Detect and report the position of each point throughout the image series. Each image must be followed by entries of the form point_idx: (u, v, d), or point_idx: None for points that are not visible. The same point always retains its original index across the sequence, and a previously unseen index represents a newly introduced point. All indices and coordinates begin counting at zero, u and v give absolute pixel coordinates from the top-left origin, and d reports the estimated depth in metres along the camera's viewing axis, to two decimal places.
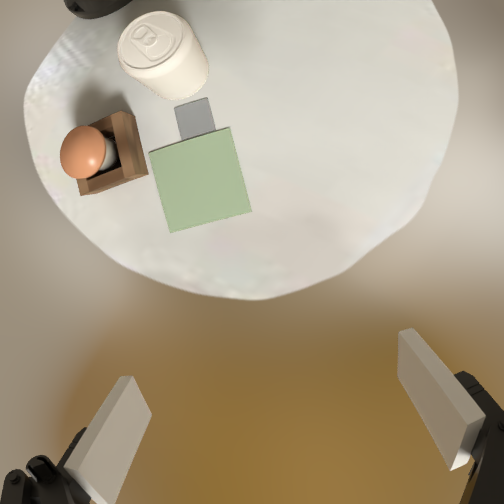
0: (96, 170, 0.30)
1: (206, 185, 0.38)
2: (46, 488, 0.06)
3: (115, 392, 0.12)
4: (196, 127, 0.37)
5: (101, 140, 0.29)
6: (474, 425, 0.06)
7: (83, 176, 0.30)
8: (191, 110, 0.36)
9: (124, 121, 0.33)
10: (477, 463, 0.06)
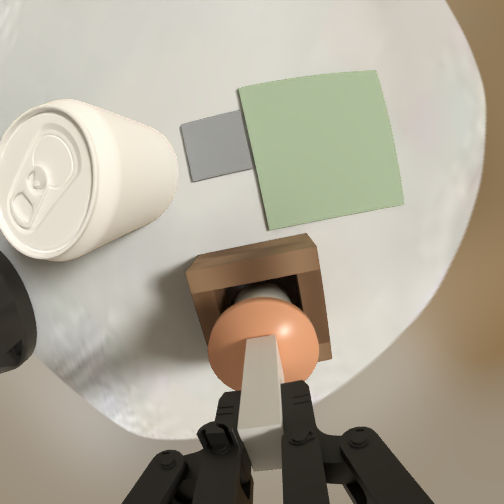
0: (308, 320, 0.16)
1: (334, 132, 0.21)
2: (212, 458, 0.08)
3: (252, 352, 0.14)
4: (232, 141, 0.22)
5: (247, 304, 0.16)
6: (269, 430, 0.09)
7: (316, 349, 0.16)
8: (200, 149, 0.22)
9: (209, 266, 0.20)
10: None
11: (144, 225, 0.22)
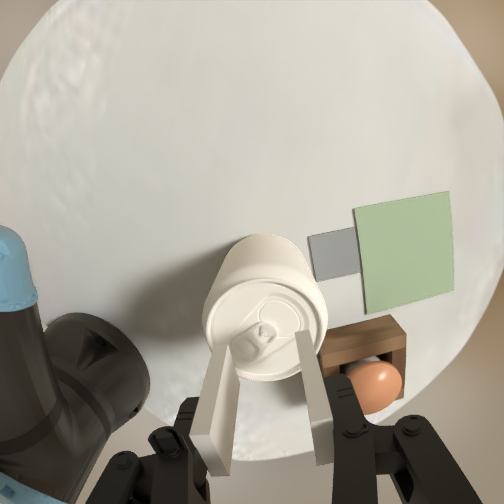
0: (397, 371, 0.25)
1: (417, 244, 0.28)
2: (165, 462, 0.08)
3: (216, 359, 0.14)
4: (348, 252, 0.29)
5: (369, 367, 0.25)
6: (321, 424, 0.09)
7: (400, 385, 0.25)
8: (323, 258, 0.29)
9: (337, 350, 0.27)
10: None
11: None
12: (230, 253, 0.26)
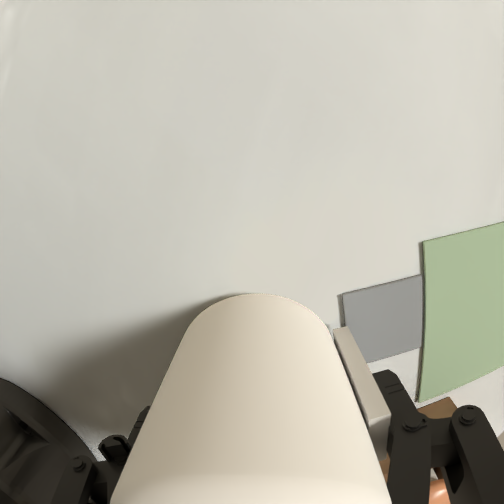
0: None
1: (502, 295, 0.15)
2: (117, 470, 0.08)
3: None
4: (406, 318, 0.15)
5: None
6: (379, 421, 0.08)
7: None
8: (366, 330, 0.15)
9: None
10: None
11: None
12: (185, 344, 0.12)
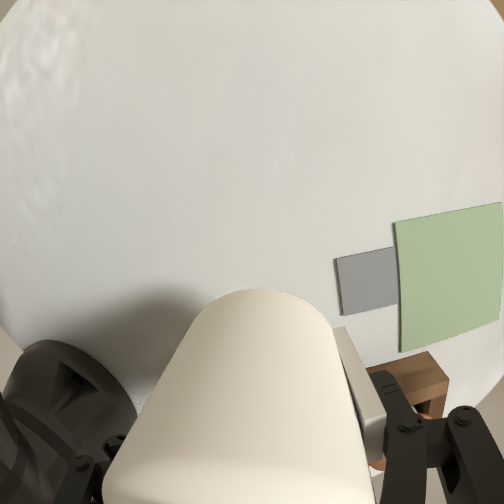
0: None
1: (465, 267, 0.21)
2: None
3: None
4: (385, 279, 0.22)
5: None
6: (374, 421, 0.08)
7: None
8: (354, 286, 0.22)
9: None
10: None
11: None
12: (189, 335, 0.12)
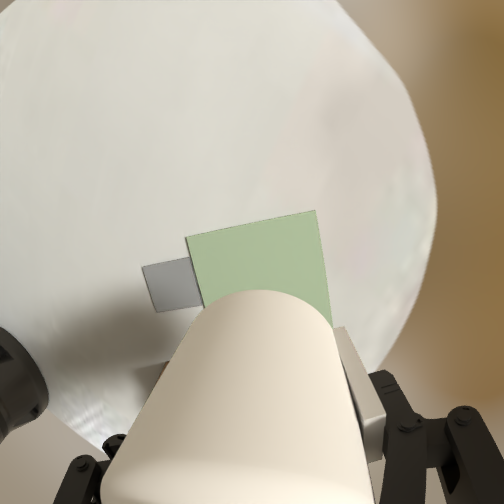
0: None
1: (270, 275, 0.27)
2: None
3: None
4: (184, 284, 0.27)
5: None
6: (374, 421, 0.08)
7: None
8: (159, 289, 0.27)
9: None
10: None
11: None
12: (189, 336, 0.12)
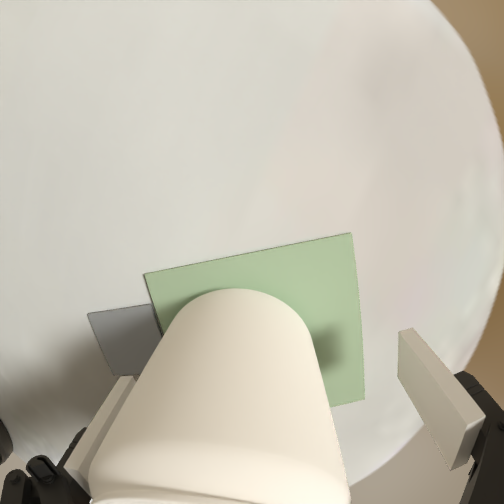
0: None
1: None
2: (46, 488, 0.06)
3: (115, 392, 0.12)
4: (147, 342, 0.17)
5: None
6: (474, 425, 0.06)
7: None
8: (113, 345, 0.17)
9: None
10: (477, 463, 0.06)
11: None
12: (173, 329, 0.13)
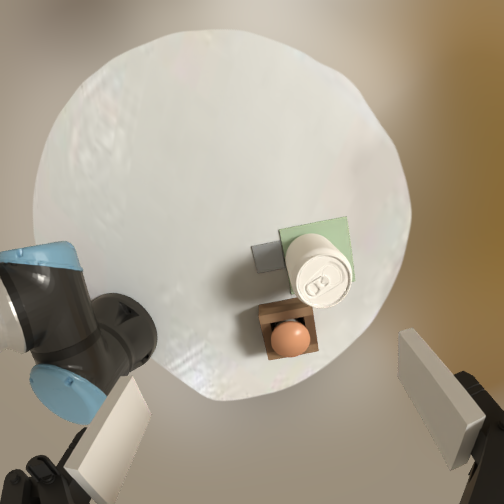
0: (306, 328, 0.46)
1: None
2: (46, 488, 0.06)
3: (115, 391, 0.12)
4: (276, 255, 0.50)
5: (285, 323, 0.46)
6: (474, 425, 0.06)
7: (309, 338, 0.46)
8: (261, 259, 0.50)
9: (268, 313, 0.48)
10: (477, 463, 0.06)
11: None
12: (297, 242, 0.45)
